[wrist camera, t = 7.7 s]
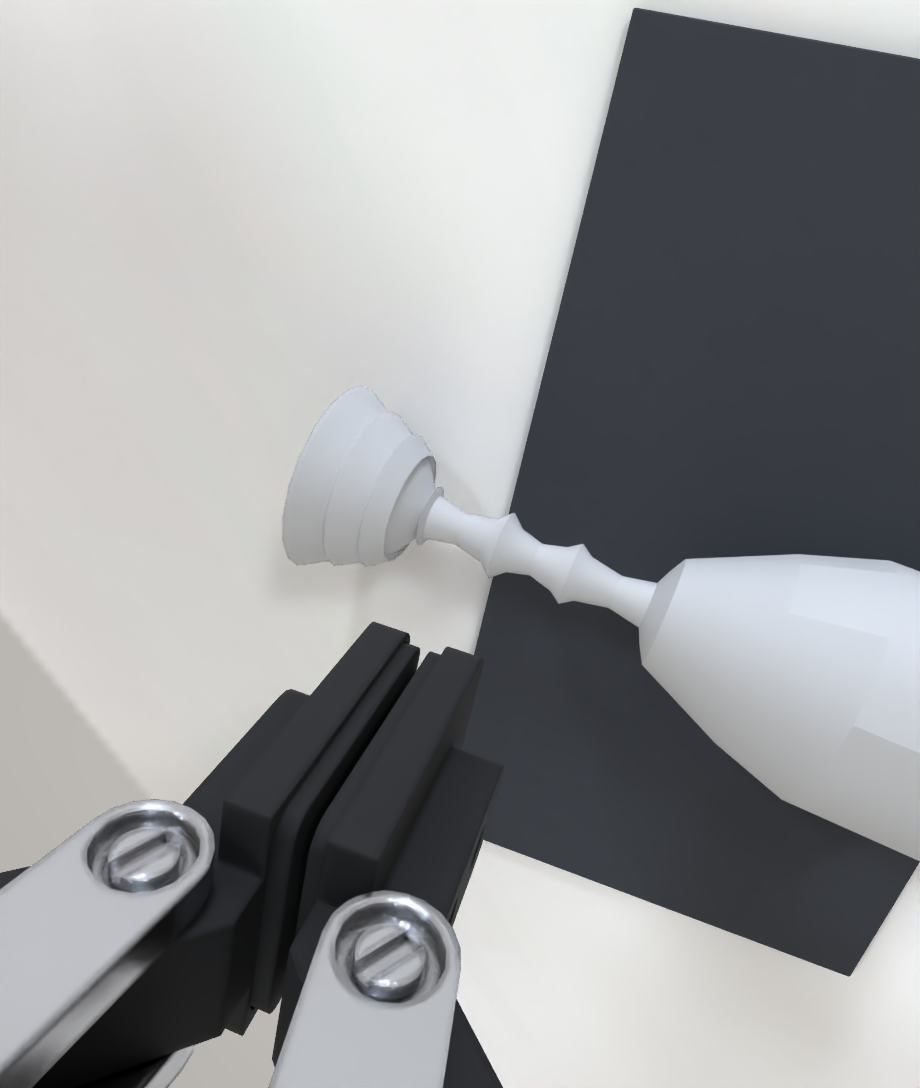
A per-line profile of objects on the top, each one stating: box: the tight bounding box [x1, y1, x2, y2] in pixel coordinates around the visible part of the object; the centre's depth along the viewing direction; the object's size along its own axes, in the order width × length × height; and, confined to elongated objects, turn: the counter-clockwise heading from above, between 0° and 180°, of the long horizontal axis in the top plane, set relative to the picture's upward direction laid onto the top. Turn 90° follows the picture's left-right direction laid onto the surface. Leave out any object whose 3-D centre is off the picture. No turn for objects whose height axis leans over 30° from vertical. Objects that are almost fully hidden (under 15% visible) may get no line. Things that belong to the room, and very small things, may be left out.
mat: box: [462, 8, 920, 976], centre depth 22 cm, size 24×14×1 cm, turn 168°
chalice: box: [283, 385, 920, 861], centre depth 20 cm, size 7×7×18 cm
